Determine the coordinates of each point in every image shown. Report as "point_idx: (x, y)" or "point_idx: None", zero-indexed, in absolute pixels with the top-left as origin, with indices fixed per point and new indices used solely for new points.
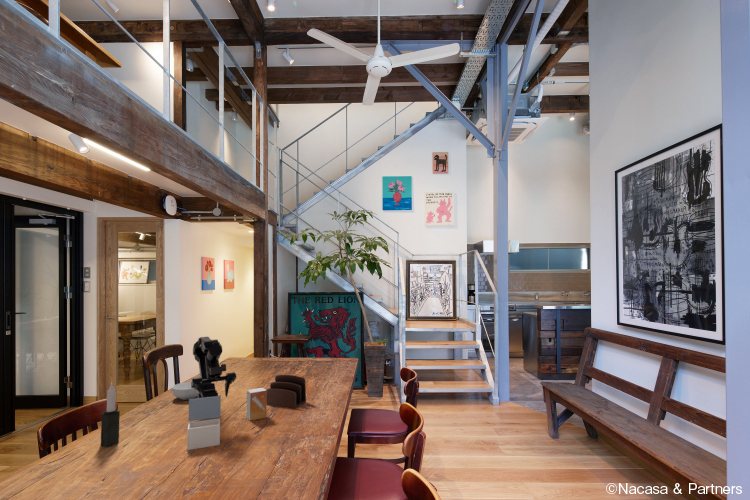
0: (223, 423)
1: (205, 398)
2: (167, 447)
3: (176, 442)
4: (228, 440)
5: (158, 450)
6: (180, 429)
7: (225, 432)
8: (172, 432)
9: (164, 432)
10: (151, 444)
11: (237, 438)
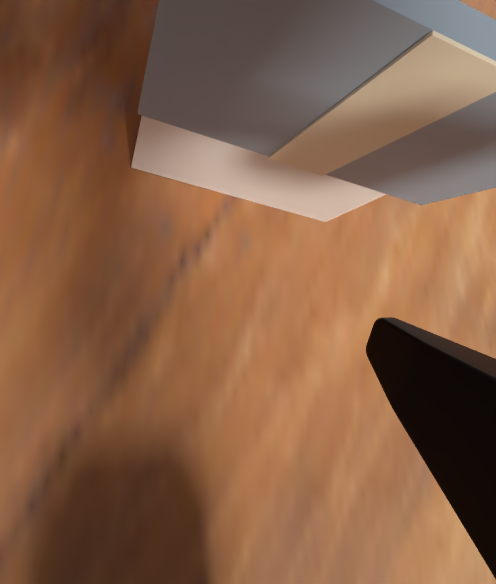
0: (26, 491)
1: (469, 20)
2: (423, 220)
3: (383, 266)
4: (81, 65)
5: (458, 208)
6: (352, 504)
7: (64, 245)
8: (396, 466)
9: (435, 491)
10: (487, 319)
11: (3, 51)
